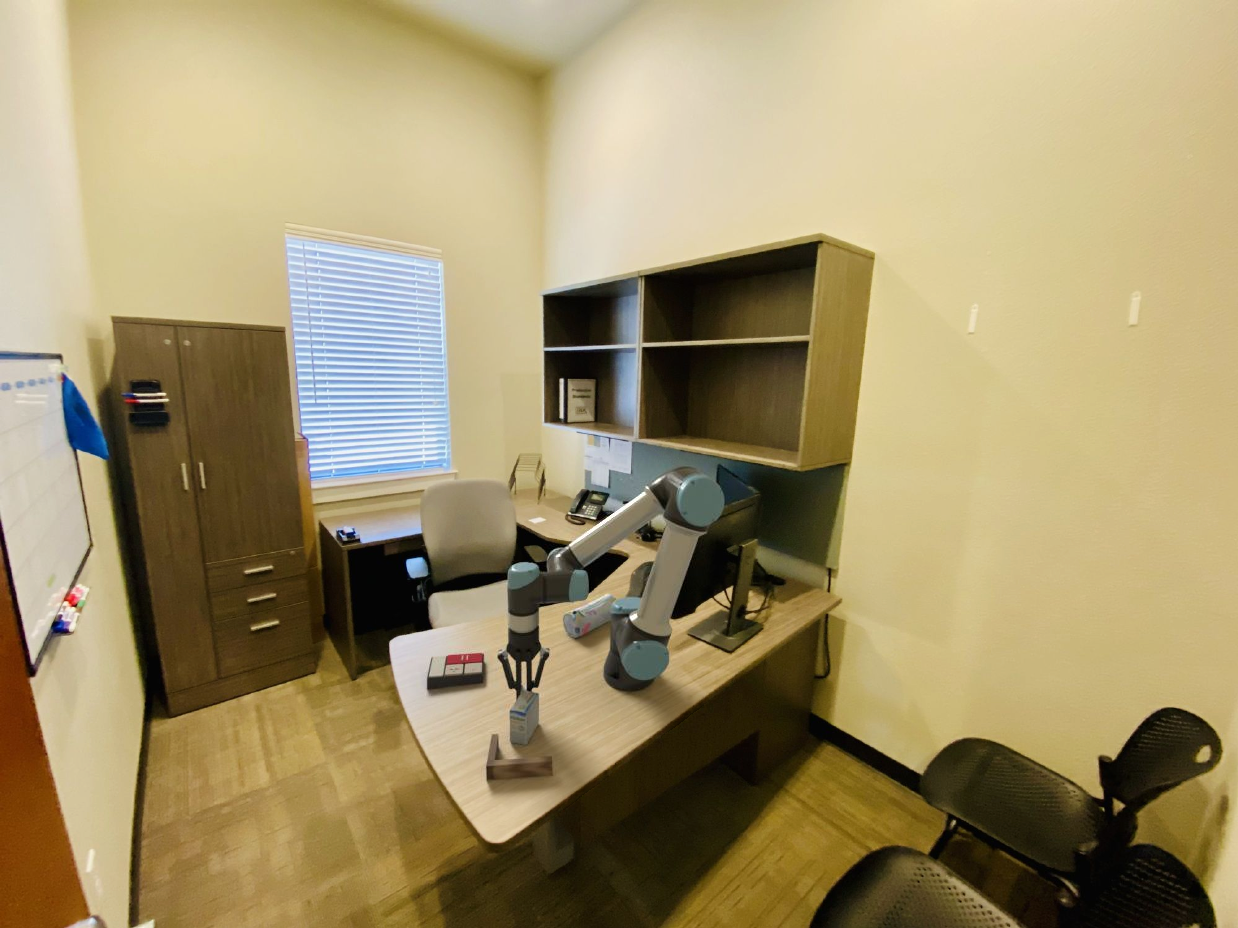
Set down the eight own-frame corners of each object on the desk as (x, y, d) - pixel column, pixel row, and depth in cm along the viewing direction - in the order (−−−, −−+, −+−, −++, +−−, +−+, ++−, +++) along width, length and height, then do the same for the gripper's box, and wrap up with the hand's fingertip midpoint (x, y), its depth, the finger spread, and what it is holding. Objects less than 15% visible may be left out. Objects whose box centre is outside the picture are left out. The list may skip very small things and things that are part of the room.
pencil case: (577, 642, 160) (577, 616, 159) (560, 633, 166) (560, 607, 164) (620, 620, 175) (621, 596, 174) (603, 612, 181) (604, 588, 180)
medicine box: (522, 720, 124) (522, 689, 122) (539, 723, 123) (539, 692, 121) (509, 742, 116) (508, 709, 115) (527, 746, 115) (526, 713, 114)
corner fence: (552, 743, 116) (552, 729, 116) (552, 775, 107) (552, 761, 107) (492, 747, 115) (491, 734, 114) (486, 780, 105) (486, 765, 105)
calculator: (483, 671, 138) (426, 676, 134) (483, 685, 139) (426, 690, 135) (484, 650, 148) (431, 654, 145) (483, 663, 149) (431, 667, 145)
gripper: (550, 617, 125) (550, 700, 129) (498, 618, 124) (499, 702, 128) (550, 632, 118) (549, 720, 122) (494, 634, 116) (496, 722, 121)
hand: (524, 711), depth 125 cm, fingers closed
